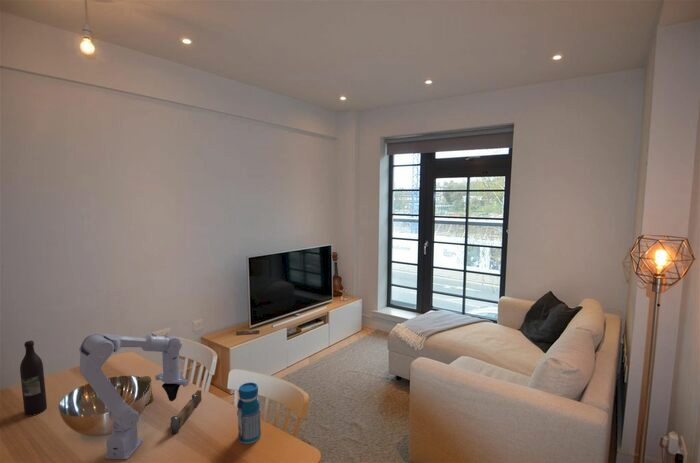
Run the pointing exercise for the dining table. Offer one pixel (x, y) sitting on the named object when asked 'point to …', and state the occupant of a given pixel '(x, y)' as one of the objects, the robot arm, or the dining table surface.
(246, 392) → the beverage bottle
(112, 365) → the dining table surface
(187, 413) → the handle
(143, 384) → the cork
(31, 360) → the wine bottle
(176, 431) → the hammer
